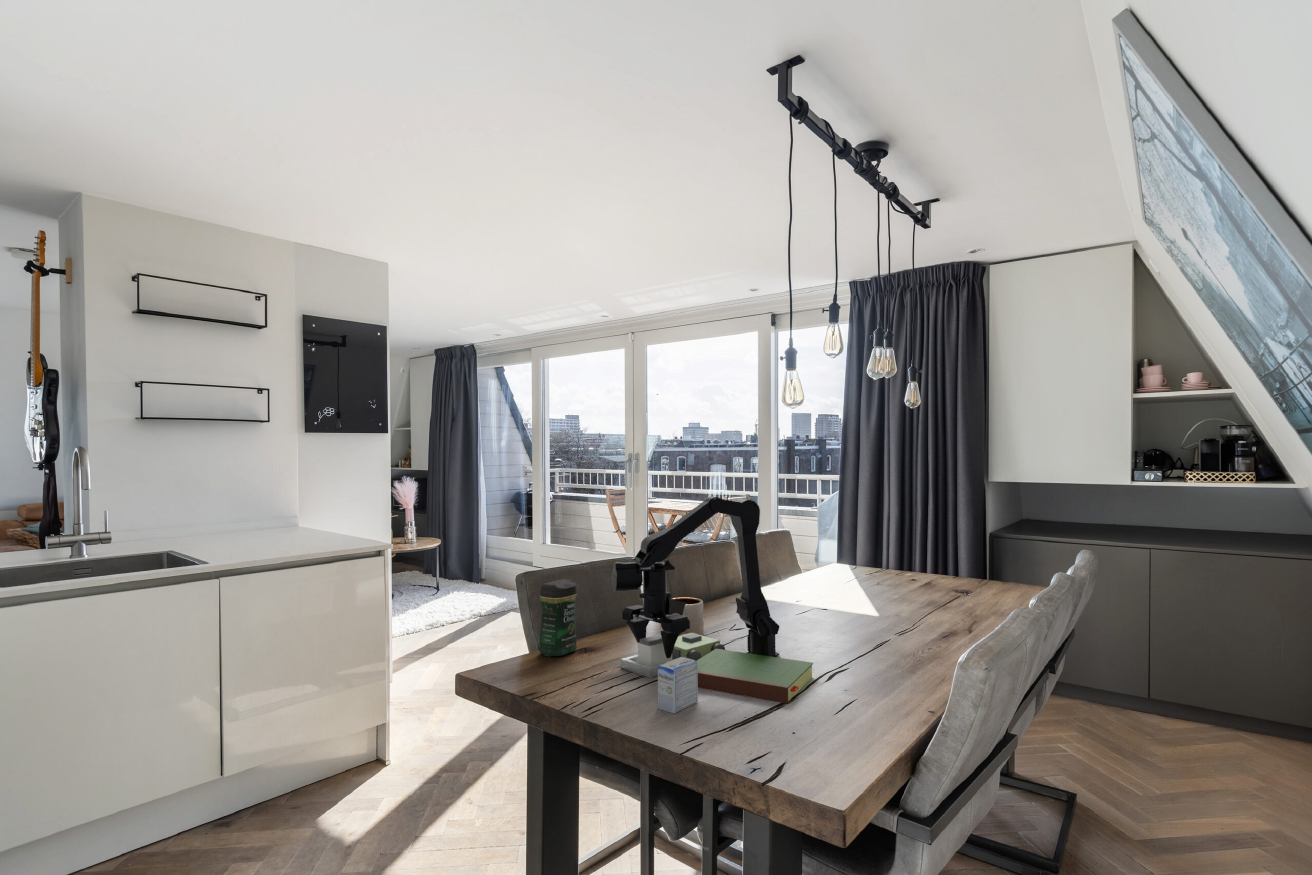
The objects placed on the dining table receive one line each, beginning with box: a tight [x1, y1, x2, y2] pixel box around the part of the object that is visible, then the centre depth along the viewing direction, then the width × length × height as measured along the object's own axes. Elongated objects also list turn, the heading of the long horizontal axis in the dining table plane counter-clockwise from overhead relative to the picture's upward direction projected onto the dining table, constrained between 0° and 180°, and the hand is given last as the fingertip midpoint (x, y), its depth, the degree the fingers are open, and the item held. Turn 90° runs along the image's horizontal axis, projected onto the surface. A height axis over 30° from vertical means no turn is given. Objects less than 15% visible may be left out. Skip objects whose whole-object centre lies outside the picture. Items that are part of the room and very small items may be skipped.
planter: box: [666, 596, 705, 636], centre depth 188 cm, size 11×11×10 cm
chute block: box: [637, 633, 672, 667], centre depth 159 cm, size 4×7×7 cm, turn 132°
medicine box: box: [657, 657, 699, 714], centre depth 134 cm, size 8×4×9 cm, turn 141°
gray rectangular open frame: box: [620, 654, 669, 679], centre depth 159 cm, size 10×12×2 cm
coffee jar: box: [538, 578, 577, 658], centre depth 172 cm, size 10×8×19 cm
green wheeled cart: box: [672, 633, 726, 661], centre depth 167 cm, size 13×12×5 cm
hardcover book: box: [697, 649, 814, 704], centre depth 148 cm, size 25×19×4 cm
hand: (655, 653), depth 159 cm, fingers open, 9 cm apart
